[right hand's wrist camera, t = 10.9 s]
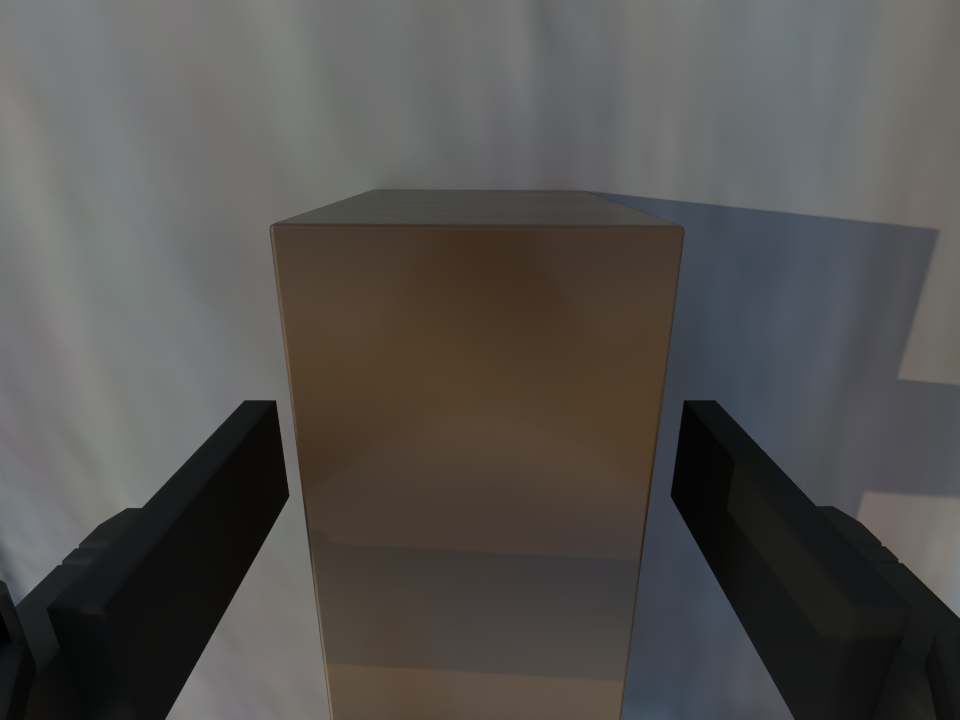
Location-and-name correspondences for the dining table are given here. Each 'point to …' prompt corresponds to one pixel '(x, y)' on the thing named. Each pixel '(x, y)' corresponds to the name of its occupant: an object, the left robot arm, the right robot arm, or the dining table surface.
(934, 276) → the dining table surface
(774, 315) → the dining table surface
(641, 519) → the post
